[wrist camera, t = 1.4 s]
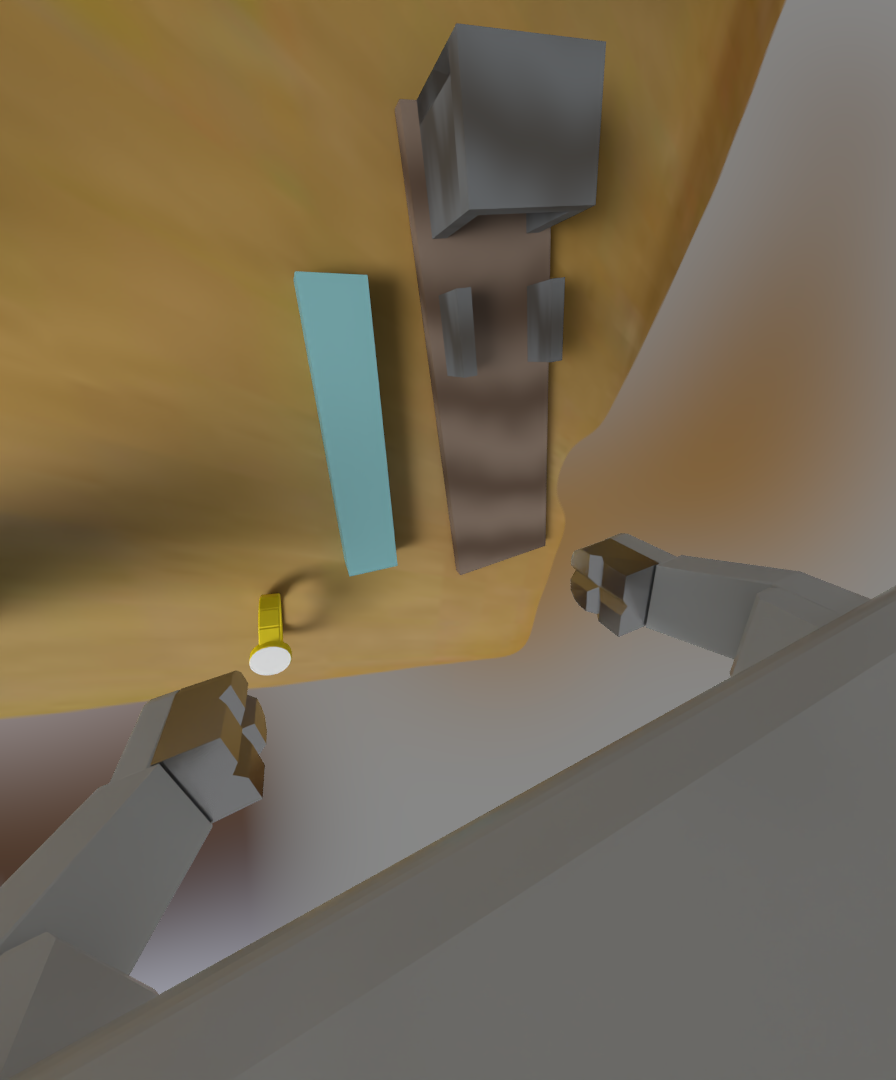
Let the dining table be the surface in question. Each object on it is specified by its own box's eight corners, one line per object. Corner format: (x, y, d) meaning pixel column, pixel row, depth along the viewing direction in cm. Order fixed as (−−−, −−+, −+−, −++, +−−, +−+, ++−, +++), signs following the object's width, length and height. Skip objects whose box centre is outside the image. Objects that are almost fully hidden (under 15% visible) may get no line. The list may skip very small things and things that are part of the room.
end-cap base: (394, 109, 20) (434, 20, 15) (543, 116, 23) (621, 43, 18) (456, 570, 36) (486, 607, 31) (539, 541, 39) (580, 571, 34)
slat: (293, 281, 22) (294, 271, 20) (358, 283, 23) (367, 275, 21) (344, 559, 31) (349, 576, 29) (388, 549, 33) (397, 565, 30)
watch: (291, 634, 32) (293, 687, 28) (257, 639, 31) (253, 695, 27) (288, 580, 30) (290, 629, 25) (250, 583, 29) (244, 635, 24)
